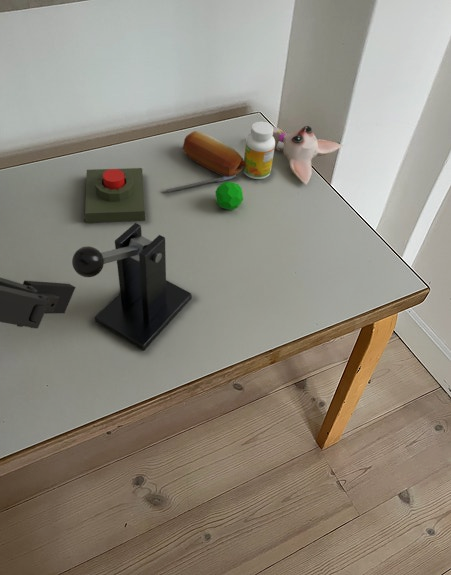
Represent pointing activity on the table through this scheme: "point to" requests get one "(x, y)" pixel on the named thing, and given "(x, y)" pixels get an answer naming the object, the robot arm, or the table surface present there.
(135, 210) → the control box
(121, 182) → the button
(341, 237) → the table surface
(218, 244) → the table surface
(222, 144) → the hot dog
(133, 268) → the switch bracket
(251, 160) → the supplement bottle
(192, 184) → the pen
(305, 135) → the toy dog
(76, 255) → the lever
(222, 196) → the polyhedron
